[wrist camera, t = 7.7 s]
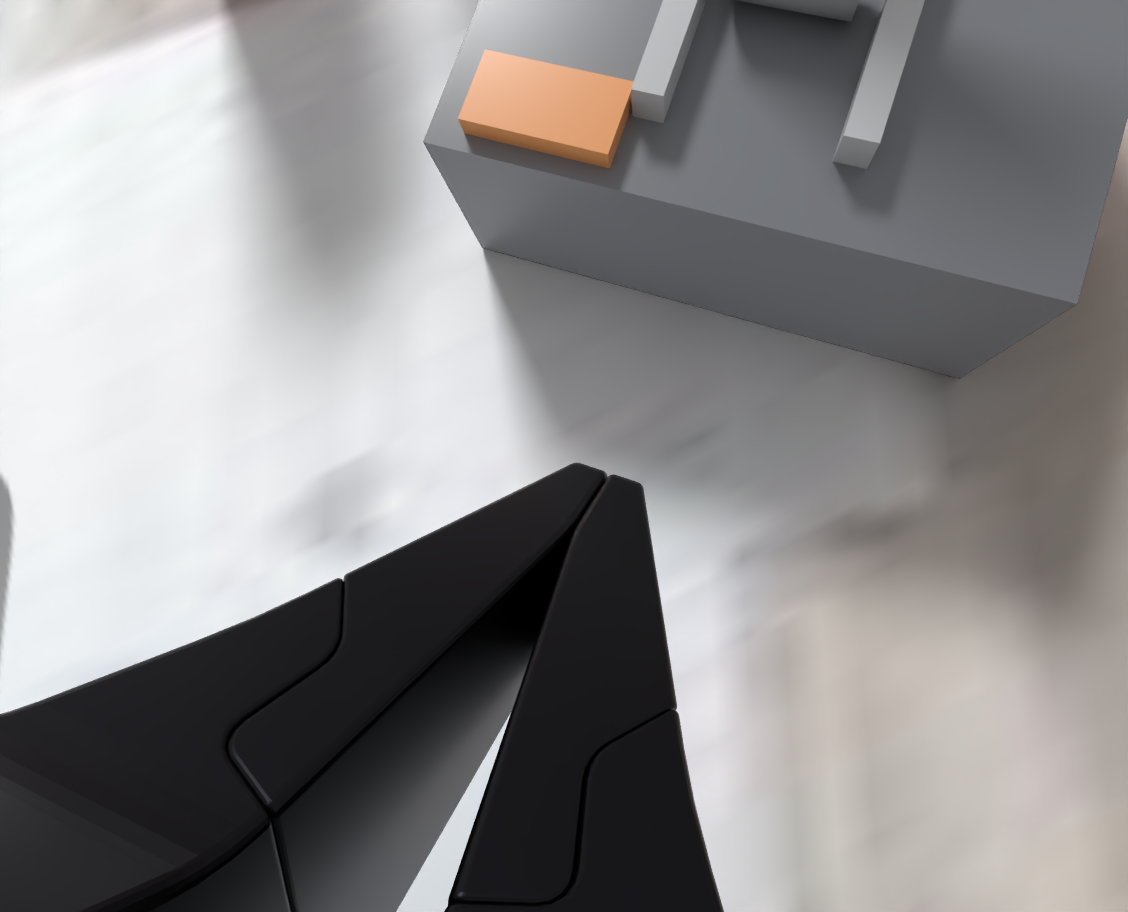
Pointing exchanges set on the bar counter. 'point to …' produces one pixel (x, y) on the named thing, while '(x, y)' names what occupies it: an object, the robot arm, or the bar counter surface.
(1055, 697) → the bar counter surface
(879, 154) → the switch box
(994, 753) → the bar counter surface
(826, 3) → the lever
